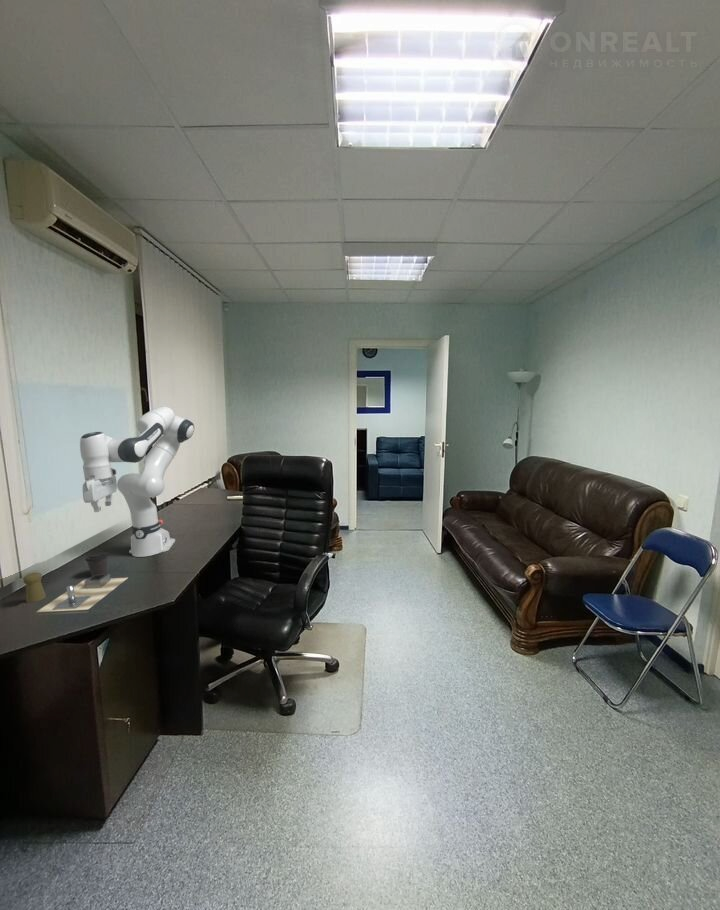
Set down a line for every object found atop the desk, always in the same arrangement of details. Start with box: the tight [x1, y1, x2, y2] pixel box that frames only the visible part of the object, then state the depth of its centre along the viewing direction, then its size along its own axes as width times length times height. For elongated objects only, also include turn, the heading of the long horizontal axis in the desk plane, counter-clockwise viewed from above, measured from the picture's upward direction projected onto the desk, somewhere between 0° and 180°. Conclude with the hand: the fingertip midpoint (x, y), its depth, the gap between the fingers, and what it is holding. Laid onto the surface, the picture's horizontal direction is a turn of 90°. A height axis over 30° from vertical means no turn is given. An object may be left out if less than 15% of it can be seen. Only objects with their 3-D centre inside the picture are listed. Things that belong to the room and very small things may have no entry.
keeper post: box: [53, 584, 91, 610], centre depth 135 cm, size 8×8×6 cm
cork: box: [23, 571, 47, 604], centre depth 140 cm, size 6×6×11 cm
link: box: [84, 573, 111, 589], centre depth 149 cm, size 6×6×3 cm
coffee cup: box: [84, 551, 109, 577], centre depth 159 cm, size 8×8×10 cm
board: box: [35, 577, 128, 616], centre depth 143 cm, size 24×18×1 cm
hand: (103, 508), depth 148 cm, fingers open, 8 cm apart
